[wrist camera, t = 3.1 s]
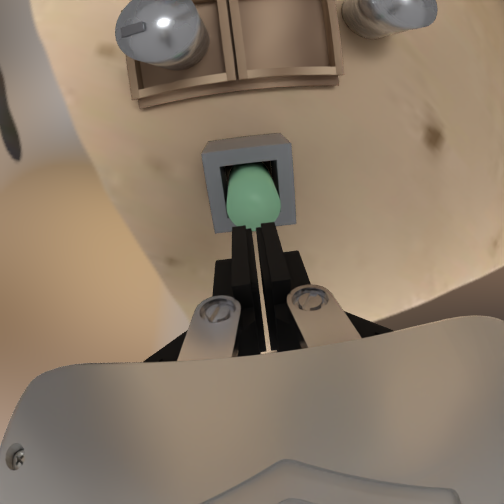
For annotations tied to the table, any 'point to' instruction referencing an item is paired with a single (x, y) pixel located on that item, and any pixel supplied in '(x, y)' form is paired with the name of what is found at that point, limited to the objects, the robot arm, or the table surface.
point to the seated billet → (162, 33)
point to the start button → (252, 195)
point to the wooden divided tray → (250, 51)
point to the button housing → (249, 152)
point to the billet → (387, 16)
